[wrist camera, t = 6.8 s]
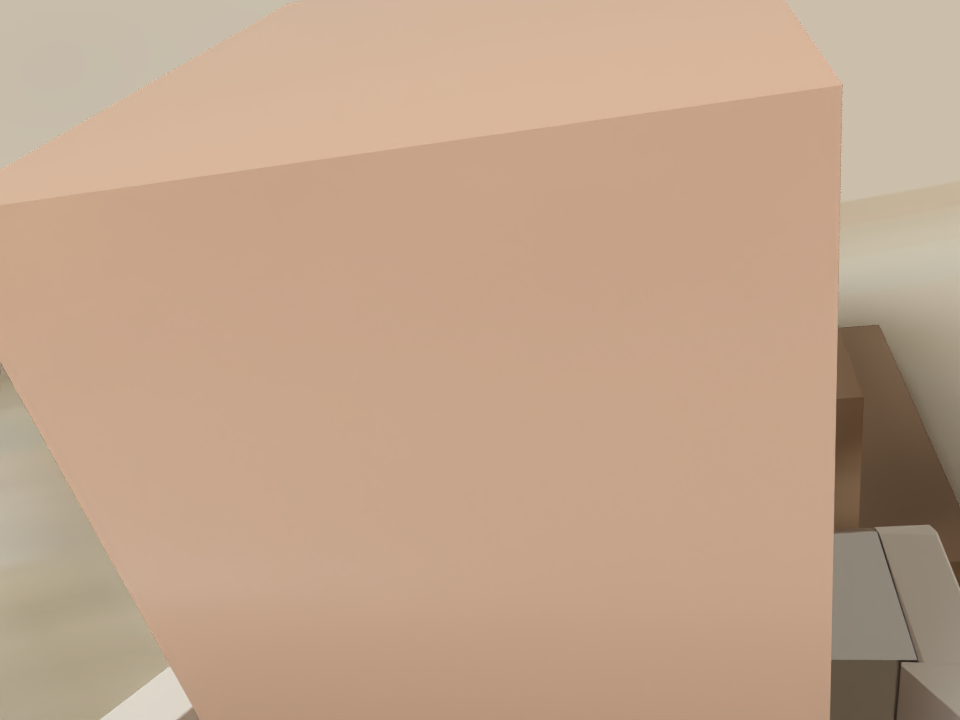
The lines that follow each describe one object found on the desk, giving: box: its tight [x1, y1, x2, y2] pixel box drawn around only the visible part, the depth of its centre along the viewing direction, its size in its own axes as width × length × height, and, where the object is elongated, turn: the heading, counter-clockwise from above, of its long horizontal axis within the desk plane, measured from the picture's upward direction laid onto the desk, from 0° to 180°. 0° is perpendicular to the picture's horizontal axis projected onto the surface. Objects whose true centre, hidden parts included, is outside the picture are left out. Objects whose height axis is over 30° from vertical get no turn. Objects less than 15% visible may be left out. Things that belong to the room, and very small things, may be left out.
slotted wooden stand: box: [834, 325, 960, 587], centre depth 21 cm, size 13×9×6 cm
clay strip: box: [0, 0, 843, 720], centre depth 9 cm, size 4×5×14 cm
